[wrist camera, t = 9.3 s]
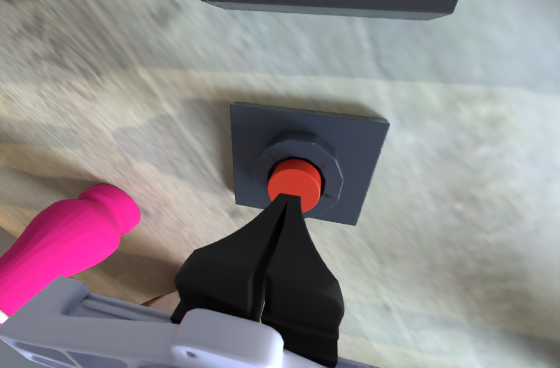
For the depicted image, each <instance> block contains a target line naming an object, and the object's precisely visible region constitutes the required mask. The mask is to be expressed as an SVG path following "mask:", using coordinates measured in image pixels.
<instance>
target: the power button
mask: <svg viewBox="0 0 560 368" xmlns="http://www.w3.org/2000/svg"><path fill="white" fill-rule="evenodd" d="M320 189H321V178H320V174H319V172H318V171H317V169H316V168H315V167H314V166H313V165H311V164H310V163H308V162H306V161H304V160H300V159H290V160H286V161H284V162H282V163H280V164H279V165H278V166H277V167H276V168H275V170H274V172H273V174H272V176H271V178H270V180H269V183H268V194H269V197H270V199H271V201H273V200H274V199H275V198H276V196H277V195H278V194H279V193H285V194H291V195H297V196H300V197H301V198H302V199H301V205H302V212H306V211H308V210H310V209H312V208H313V207H314V206H315V205H316V204H317V202H318V200H319V197H320Z"/></svg>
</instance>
